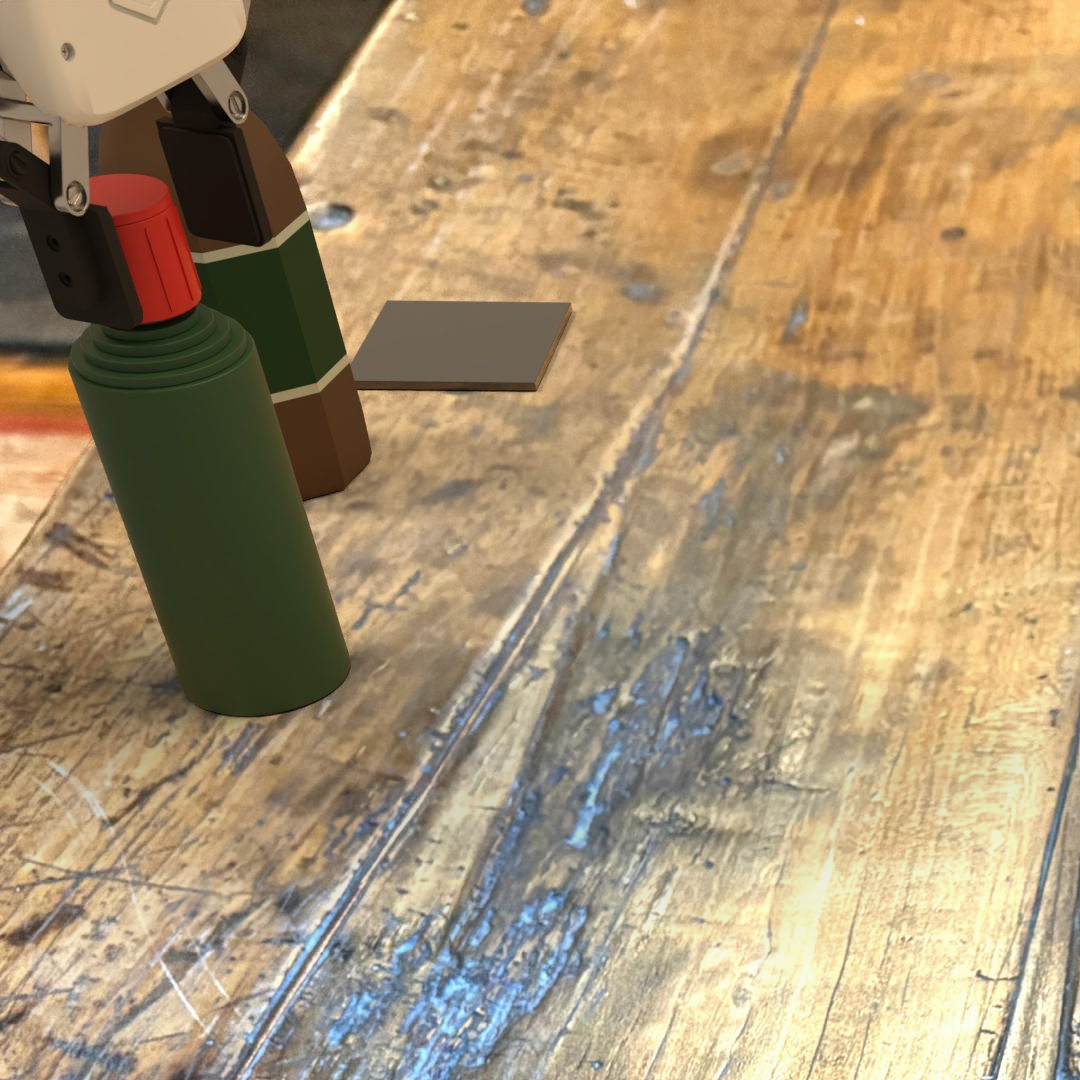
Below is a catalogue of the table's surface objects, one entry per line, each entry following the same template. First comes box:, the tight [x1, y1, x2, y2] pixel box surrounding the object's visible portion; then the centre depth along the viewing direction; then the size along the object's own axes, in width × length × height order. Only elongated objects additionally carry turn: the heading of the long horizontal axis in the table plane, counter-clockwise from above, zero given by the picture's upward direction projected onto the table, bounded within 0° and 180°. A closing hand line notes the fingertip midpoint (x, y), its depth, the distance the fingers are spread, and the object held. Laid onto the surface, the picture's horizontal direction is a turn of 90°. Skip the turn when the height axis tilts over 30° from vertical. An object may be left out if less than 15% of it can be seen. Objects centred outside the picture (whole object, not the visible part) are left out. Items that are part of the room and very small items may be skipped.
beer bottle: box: [97, 96, 373, 501], centre depth 105 cm, size 8×8×24 cm
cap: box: [89, 174, 202, 324], centre depth 89 cm, size 4×4×4 cm
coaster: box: [350, 299, 573, 392], centre depth 122 cm, size 9×9×1 cm
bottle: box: [67, 303, 352, 717], centre depth 95 cm, size 6×6×18 cm
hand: (167, 275), depth 90 cm, fingers open, 6 cm apart
